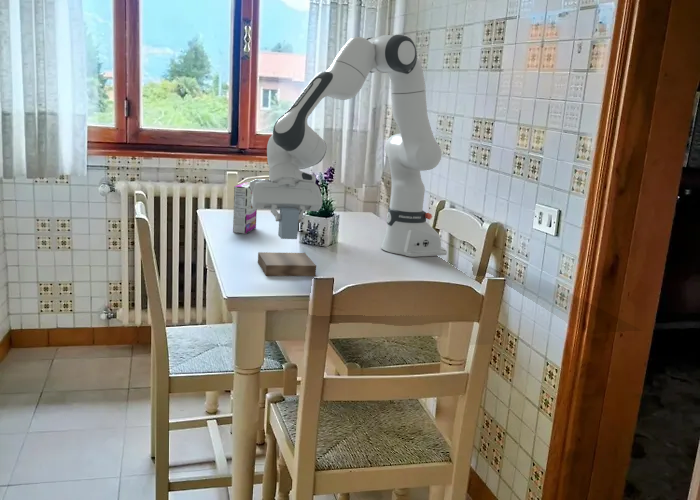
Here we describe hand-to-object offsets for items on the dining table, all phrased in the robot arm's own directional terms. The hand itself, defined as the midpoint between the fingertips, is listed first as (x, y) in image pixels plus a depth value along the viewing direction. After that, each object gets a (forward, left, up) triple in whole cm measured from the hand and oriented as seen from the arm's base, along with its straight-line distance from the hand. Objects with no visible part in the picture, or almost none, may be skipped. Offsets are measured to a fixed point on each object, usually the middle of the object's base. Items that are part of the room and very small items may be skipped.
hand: (289, 220), depth 187 cm
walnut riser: (0, -1, -14) cm, 14 cm away
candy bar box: (+5, -50, -14) cm, 52 cm away
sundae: (-15, -53, -14) cm, 57 cm away
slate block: (0, -1, -5) cm, 5 cm away
